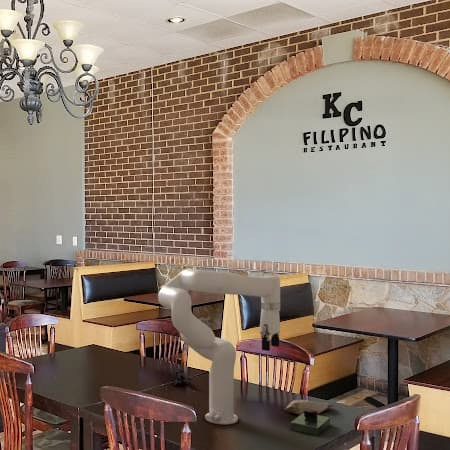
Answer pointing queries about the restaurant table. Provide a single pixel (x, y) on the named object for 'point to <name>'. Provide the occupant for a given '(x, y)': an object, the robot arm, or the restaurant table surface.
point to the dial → (310, 414)
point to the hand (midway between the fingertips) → (270, 348)
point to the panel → (310, 425)
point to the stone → (306, 406)
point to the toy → (180, 378)
